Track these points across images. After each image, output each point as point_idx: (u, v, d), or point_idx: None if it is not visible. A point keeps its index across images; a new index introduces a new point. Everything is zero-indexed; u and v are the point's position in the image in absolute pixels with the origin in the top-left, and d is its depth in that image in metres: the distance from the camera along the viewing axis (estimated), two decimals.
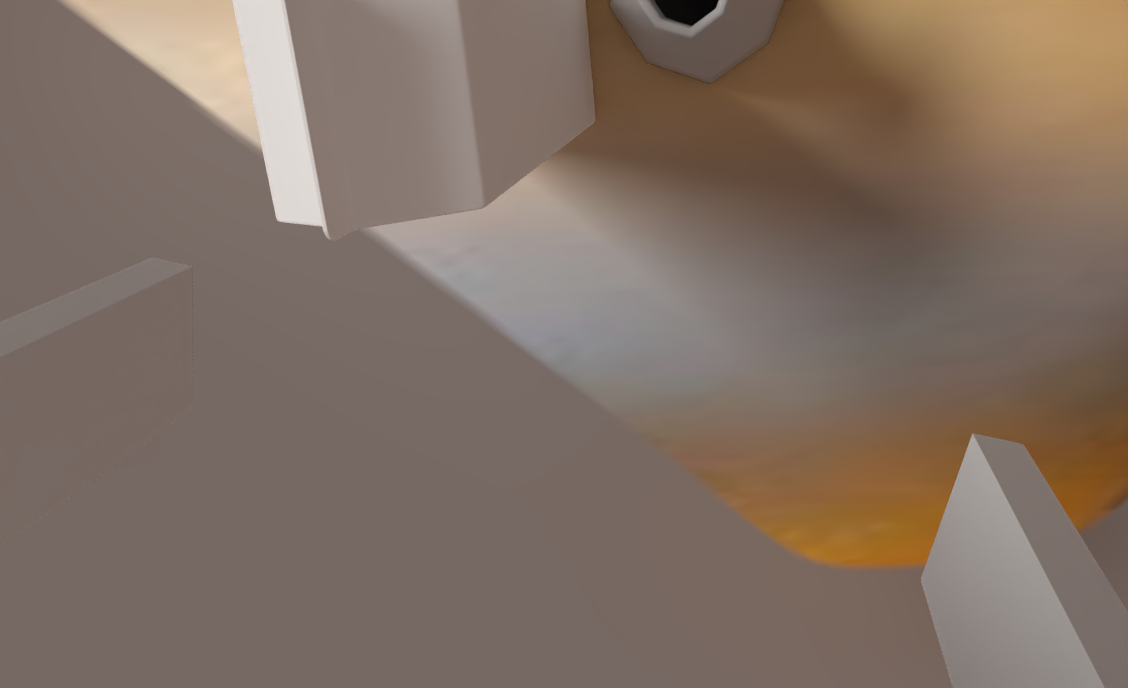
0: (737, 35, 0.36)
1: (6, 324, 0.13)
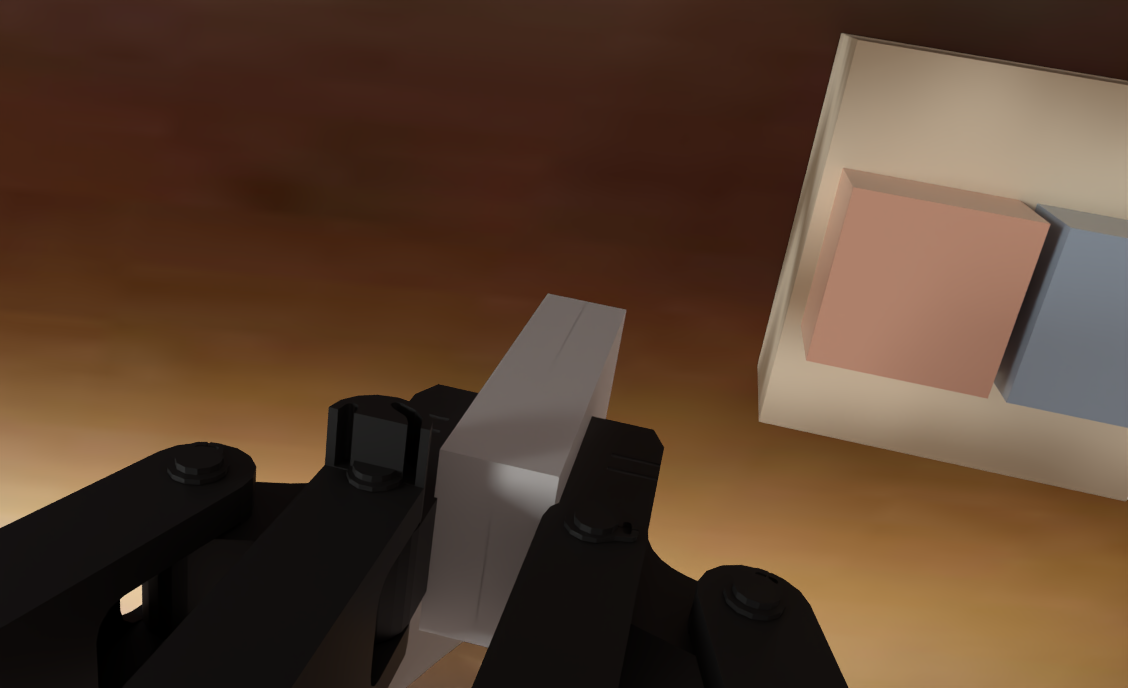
0: None
1: (509, 362, 0.14)
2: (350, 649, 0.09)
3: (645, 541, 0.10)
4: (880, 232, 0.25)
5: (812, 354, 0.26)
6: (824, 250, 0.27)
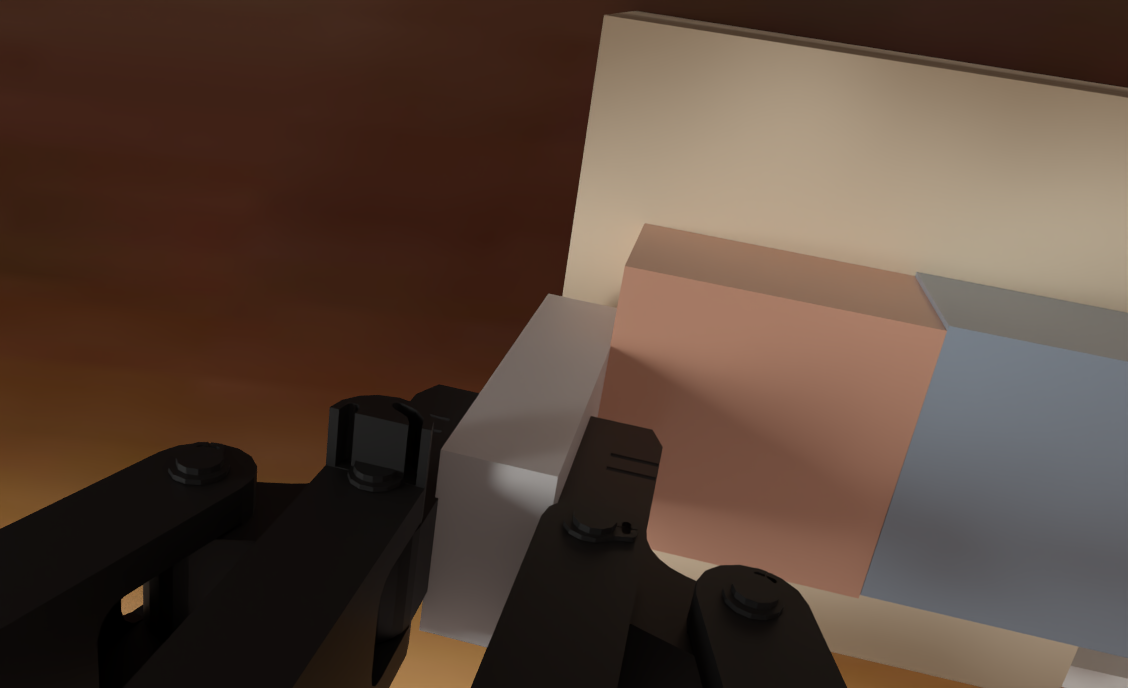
0: None
1: (510, 362, 0.14)
2: (351, 648, 0.09)
3: (644, 541, 0.10)
4: (673, 339, 0.15)
5: None
6: None
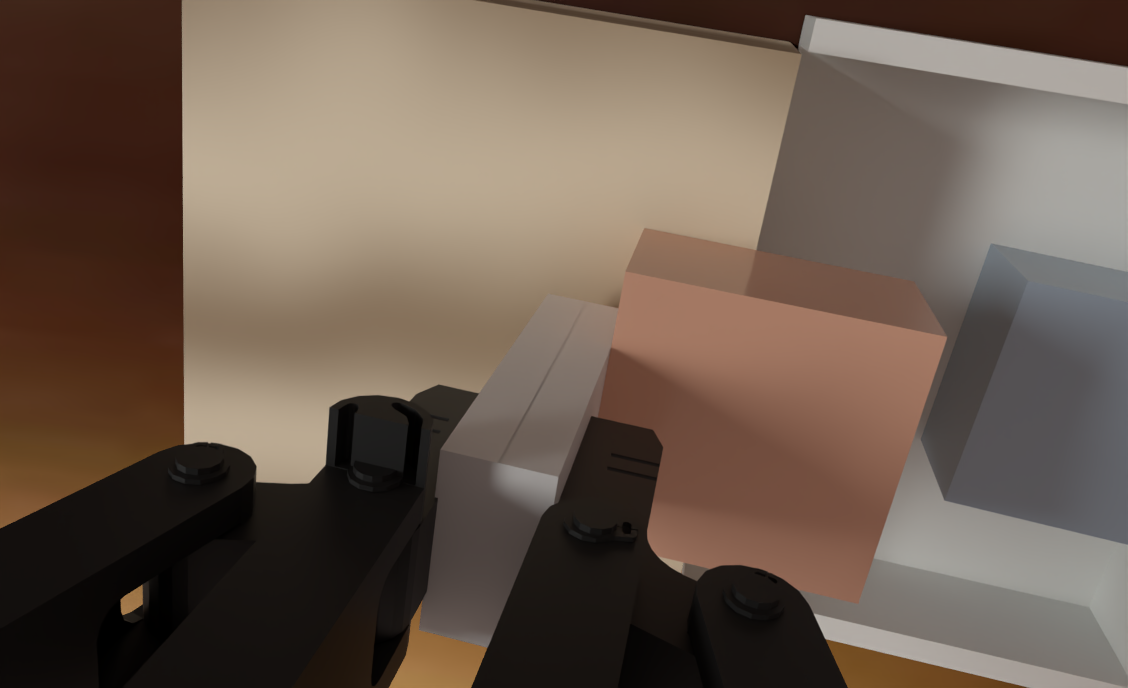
0: None
1: (509, 362, 0.14)
2: (350, 648, 0.09)
3: (644, 541, 0.10)
4: (673, 344, 0.15)
5: None
6: None
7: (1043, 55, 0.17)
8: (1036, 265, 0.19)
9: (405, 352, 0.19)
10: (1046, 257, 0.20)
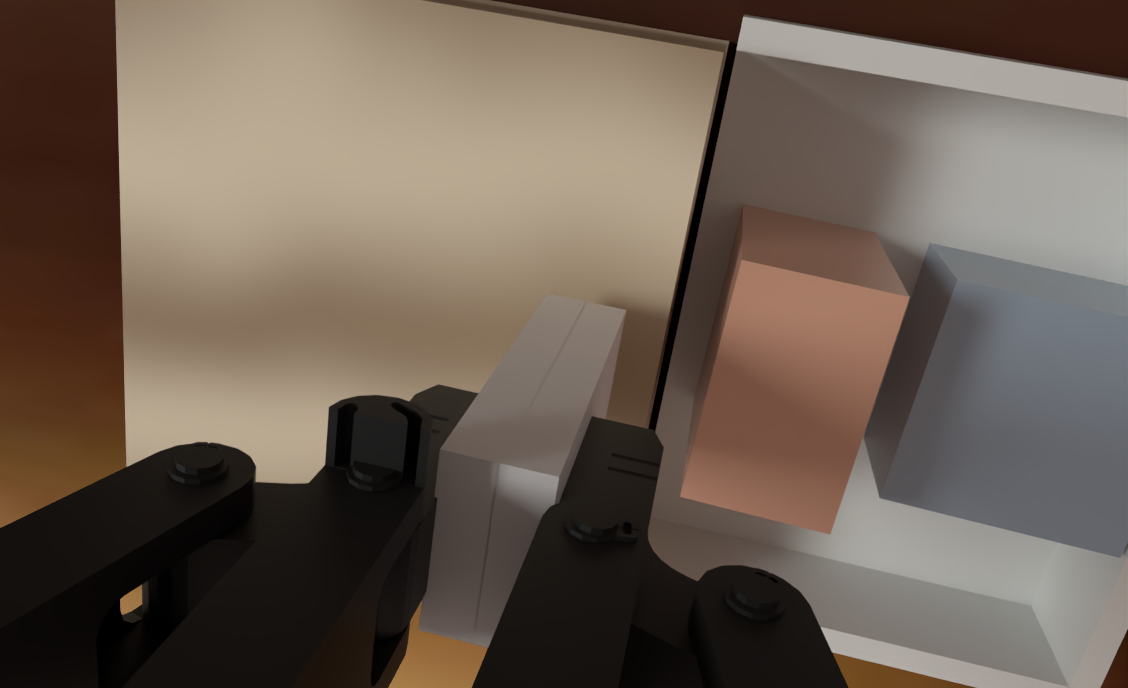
0: None
1: (509, 362, 0.14)
2: (350, 649, 0.09)
3: (645, 541, 0.10)
4: None
5: (832, 521, 0.18)
6: (753, 386, 0.17)
7: (966, 55, 0.17)
8: (970, 264, 0.20)
9: (340, 346, 0.19)
10: (983, 257, 0.20)
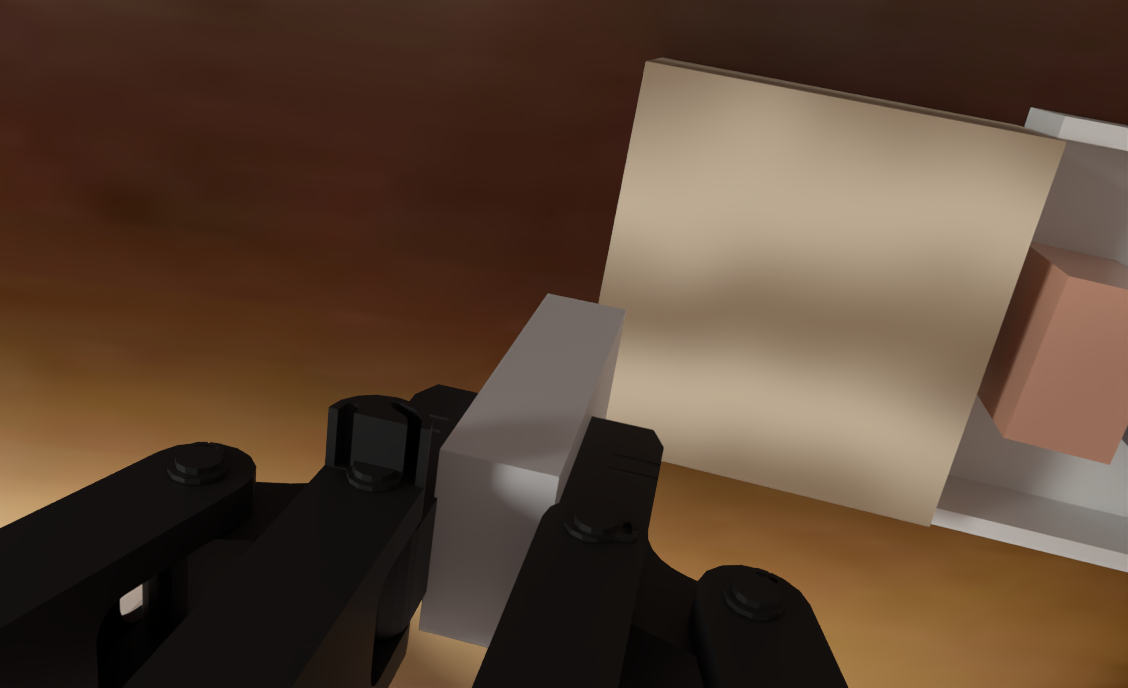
0: None
1: (509, 362, 0.14)
2: (350, 649, 0.09)
3: (645, 541, 0.10)
4: None
5: (1110, 456, 0.27)
6: (1067, 361, 0.26)
7: None
8: None
9: (760, 331, 0.28)
10: None
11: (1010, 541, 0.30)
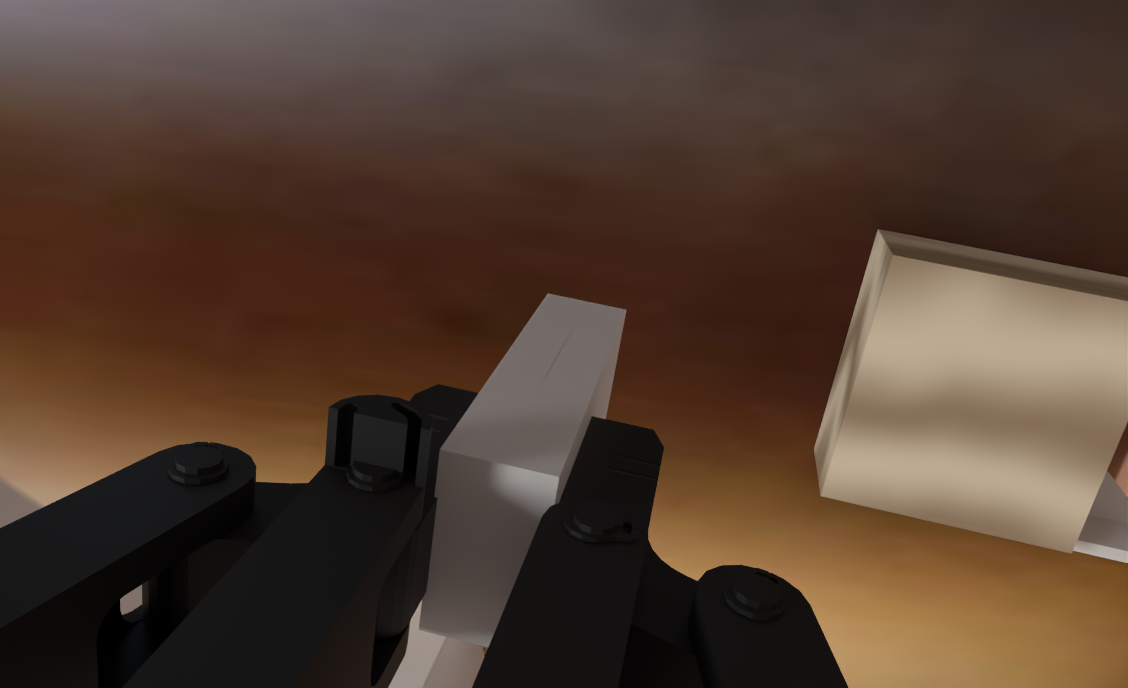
0: None
1: (509, 362, 0.14)
2: (350, 649, 0.09)
3: (645, 541, 0.10)
4: None
5: None
6: None
7: None
8: None
9: (960, 426, 0.42)
10: None
11: (1122, 560, 0.44)
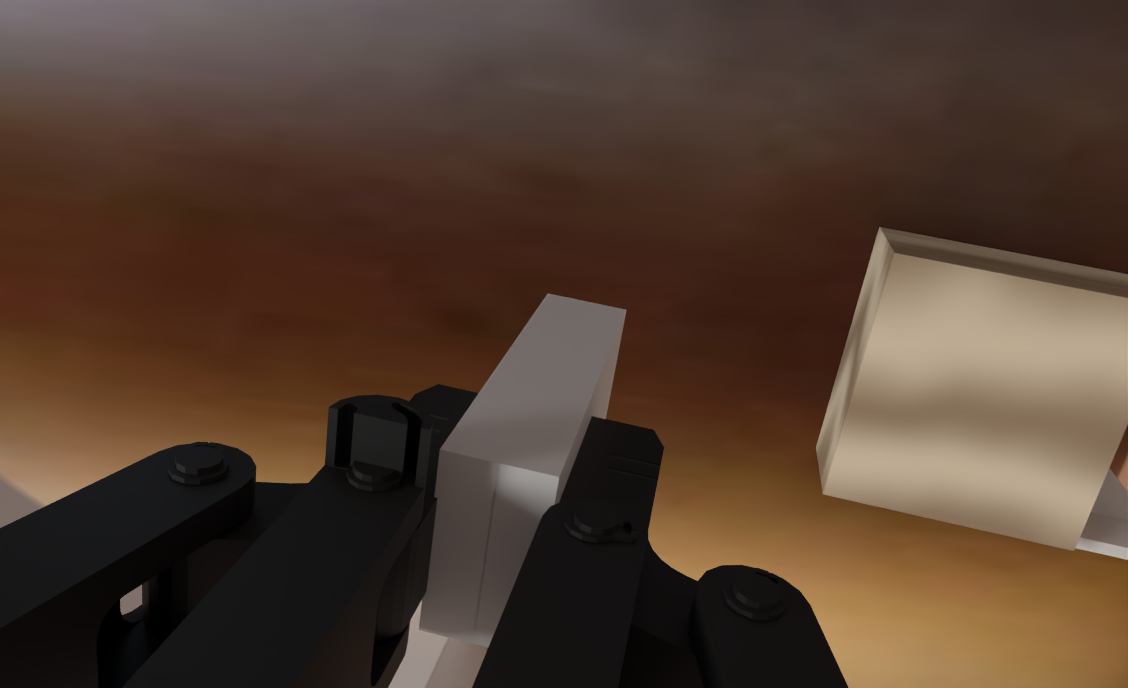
0: None
1: (509, 361, 0.14)
2: (350, 648, 0.09)
3: (645, 541, 0.10)
4: None
5: None
6: None
7: None
8: None
9: (962, 424, 0.42)
10: None
11: (1125, 558, 0.44)
